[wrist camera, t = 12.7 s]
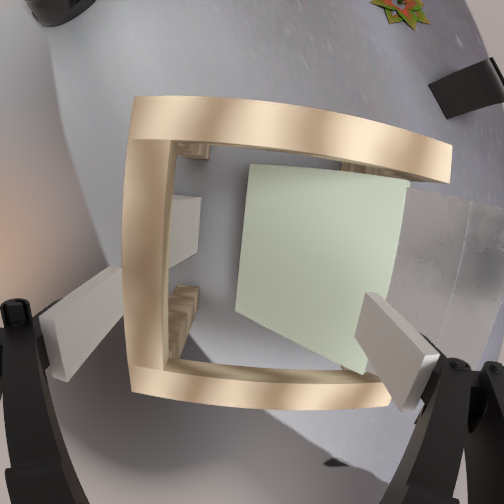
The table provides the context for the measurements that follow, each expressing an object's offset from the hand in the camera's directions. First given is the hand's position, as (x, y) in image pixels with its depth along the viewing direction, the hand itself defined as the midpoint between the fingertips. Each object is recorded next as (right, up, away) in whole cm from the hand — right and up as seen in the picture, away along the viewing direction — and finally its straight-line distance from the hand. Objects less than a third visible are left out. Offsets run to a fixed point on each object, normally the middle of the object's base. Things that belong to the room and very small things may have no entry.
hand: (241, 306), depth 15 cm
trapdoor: (+12, +1, +12) cm, 17 cm away
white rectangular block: (-10, +5, +14) cm, 18 cm away
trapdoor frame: (+3, +5, +24) cm, 24 cm away
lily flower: (+24, +43, +16) cm, 52 cm away
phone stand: (+32, +28, +19) cm, 47 cm away
